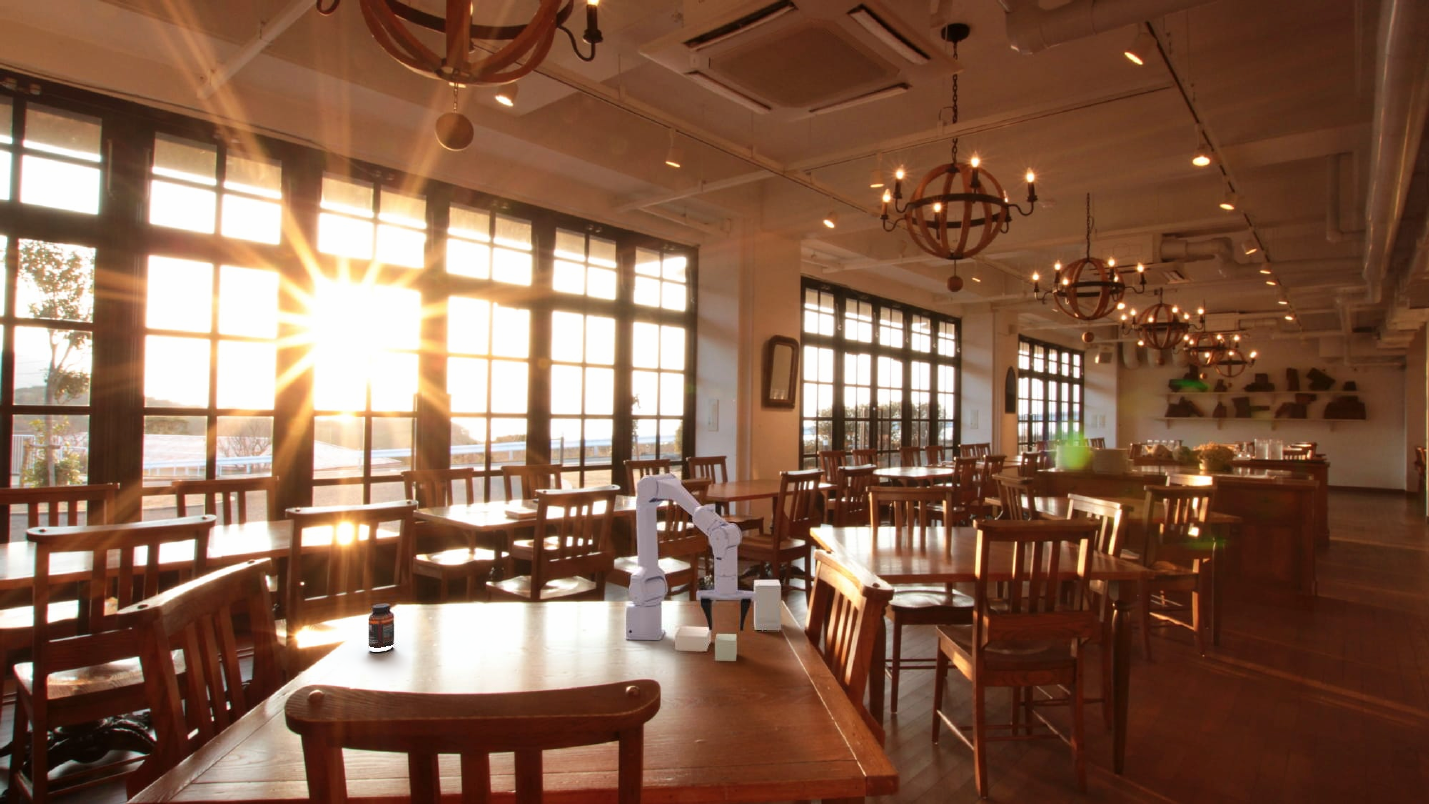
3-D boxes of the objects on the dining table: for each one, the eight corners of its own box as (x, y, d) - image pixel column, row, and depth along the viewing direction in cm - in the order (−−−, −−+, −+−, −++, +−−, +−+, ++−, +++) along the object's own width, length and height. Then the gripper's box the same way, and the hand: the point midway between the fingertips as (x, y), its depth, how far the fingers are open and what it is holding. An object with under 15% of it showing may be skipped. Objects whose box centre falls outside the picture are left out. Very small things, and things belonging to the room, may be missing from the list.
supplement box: (781, 631, 197) (781, 585, 197) (754, 631, 197) (754, 585, 197) (779, 623, 204) (779, 579, 204) (753, 623, 204) (753, 579, 204)
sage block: (715, 660, 174) (715, 640, 174) (716, 653, 179) (716, 633, 179) (735, 661, 174) (735, 640, 174) (736, 654, 178) (736, 634, 179)
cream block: (675, 651, 182) (675, 635, 182) (681, 641, 189) (681, 626, 190) (706, 652, 180) (706, 636, 180) (710, 642, 188) (710, 627, 188)
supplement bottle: (398, 646, 185) (399, 602, 185) (386, 654, 179) (386, 608, 179) (377, 645, 186) (377, 601, 186) (363, 653, 180) (363, 608, 180)
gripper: (694, 577, 173) (695, 633, 173) (754, 578, 172) (755, 635, 172) (697, 571, 180) (698, 625, 180) (755, 571, 179) (755, 626, 179)
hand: (726, 629), depth 176 cm, fingers open, 7 cm apart
